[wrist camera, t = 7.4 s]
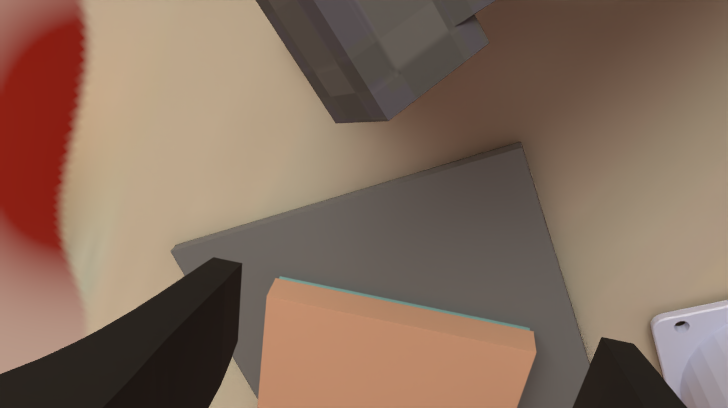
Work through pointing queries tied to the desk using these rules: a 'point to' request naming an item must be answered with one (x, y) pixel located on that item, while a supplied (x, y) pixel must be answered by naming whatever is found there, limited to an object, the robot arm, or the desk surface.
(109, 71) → the desk surface
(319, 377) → the tile
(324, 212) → the mat
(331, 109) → the handgun
